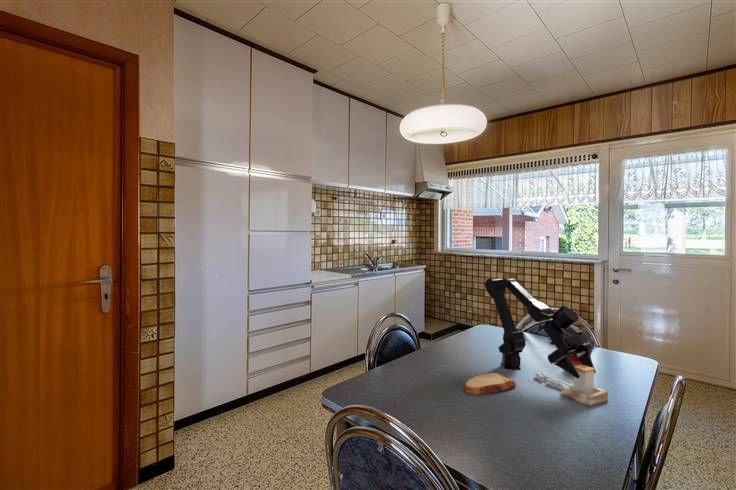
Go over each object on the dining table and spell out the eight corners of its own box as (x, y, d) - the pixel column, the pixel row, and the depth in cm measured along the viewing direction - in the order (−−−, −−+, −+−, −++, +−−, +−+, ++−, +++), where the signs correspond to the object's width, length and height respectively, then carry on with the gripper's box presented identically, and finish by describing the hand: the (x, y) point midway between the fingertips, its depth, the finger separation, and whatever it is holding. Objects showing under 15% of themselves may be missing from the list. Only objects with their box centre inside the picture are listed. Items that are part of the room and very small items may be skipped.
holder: (559, 393, 123) (559, 385, 123) (577, 388, 128) (577, 380, 128) (589, 406, 114) (589, 397, 114) (607, 400, 119) (607, 391, 119)
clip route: (563, 394, 123) (563, 388, 123) (530, 378, 137) (530, 373, 137) (575, 391, 125) (576, 385, 125) (542, 375, 139) (542, 371, 139)
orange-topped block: (573, 394, 122) (573, 366, 121) (581, 391, 124) (582, 364, 124) (584, 399, 118) (585, 370, 118) (593, 396, 120) (594, 368, 120)
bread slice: (462, 393, 124) (462, 383, 124) (467, 375, 141) (467, 365, 140) (517, 403, 117) (517, 392, 117) (515, 382, 134) (515, 372, 134)
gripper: (556, 327, 120) (587, 369, 110) (588, 321, 128) (620, 360, 119) (535, 343, 127) (563, 384, 118) (567, 336, 136) (595, 374, 126)
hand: (586, 375), depth 120 cm, fingers open, 9 cm apart
